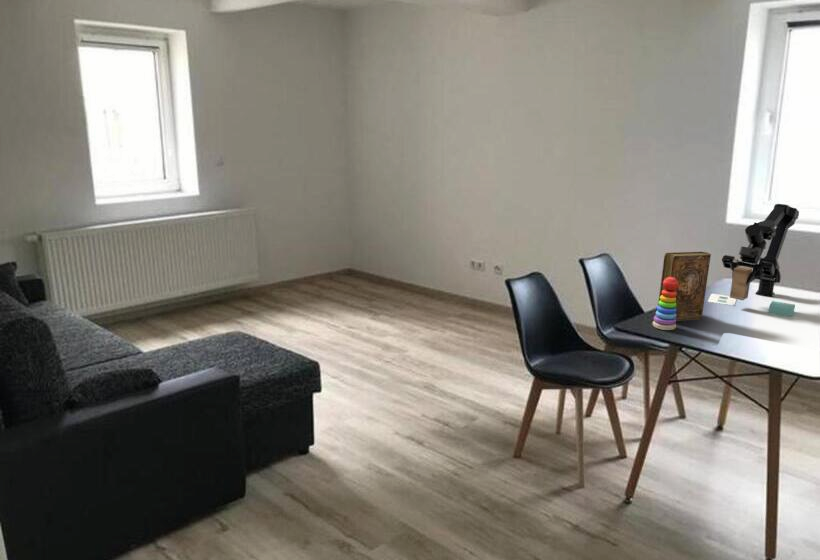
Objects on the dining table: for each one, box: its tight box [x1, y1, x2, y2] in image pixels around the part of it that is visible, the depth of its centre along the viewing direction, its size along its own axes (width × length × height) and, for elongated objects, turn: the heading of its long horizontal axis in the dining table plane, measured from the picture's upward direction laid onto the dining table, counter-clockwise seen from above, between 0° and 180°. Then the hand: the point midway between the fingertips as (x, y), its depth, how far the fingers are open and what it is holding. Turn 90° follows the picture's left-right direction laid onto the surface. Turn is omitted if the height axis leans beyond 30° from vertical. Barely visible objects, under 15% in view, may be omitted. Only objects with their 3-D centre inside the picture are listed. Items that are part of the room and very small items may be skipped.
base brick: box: [768, 300, 796, 318], centre depth 256 cm, size 8×8×3 cm
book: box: [656, 251, 712, 322], centre depth 243 cm, size 16×6×25 cm, turn 102°
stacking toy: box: [652, 277, 678, 331], centre depth 233 cm, size 8×8×19 cm
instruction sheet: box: [707, 293, 738, 306], centre depth 271 cm, size 14×10×1 cm
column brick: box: [729, 266, 753, 301], centre depth 258 cm, size 5×5×12 cm
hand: (739, 282), depth 257 cm, fingers closed on column brick, 5 cm apart
